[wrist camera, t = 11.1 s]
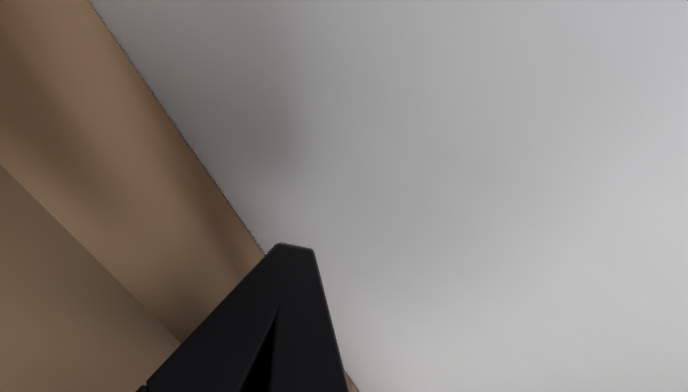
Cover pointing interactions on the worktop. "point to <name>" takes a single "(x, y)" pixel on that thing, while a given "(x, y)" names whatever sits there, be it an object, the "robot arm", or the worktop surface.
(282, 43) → the worktop surface
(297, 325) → the robot arm
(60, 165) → the link
